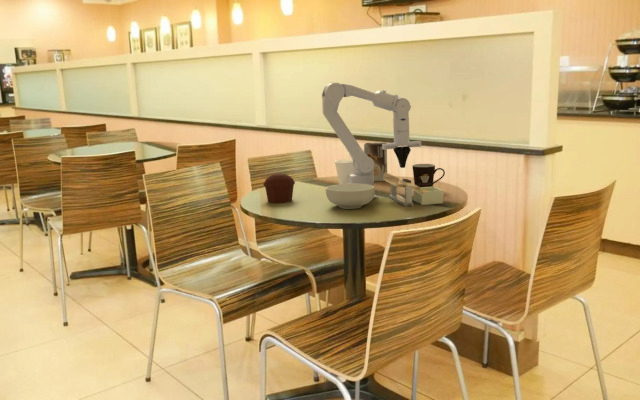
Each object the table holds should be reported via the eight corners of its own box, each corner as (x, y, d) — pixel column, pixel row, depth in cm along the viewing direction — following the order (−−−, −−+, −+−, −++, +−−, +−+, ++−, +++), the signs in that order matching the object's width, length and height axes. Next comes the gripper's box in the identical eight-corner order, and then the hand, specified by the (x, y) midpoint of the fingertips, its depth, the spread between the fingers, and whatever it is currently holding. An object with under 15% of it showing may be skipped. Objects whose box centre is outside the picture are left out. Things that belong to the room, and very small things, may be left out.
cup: (359, 185, 243) (359, 158, 241) (359, 189, 233) (358, 162, 231) (336, 185, 244) (335, 159, 242) (334, 189, 234) (333, 162, 232)
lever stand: (404, 206, 200) (404, 186, 198) (389, 197, 216) (389, 178, 215) (413, 205, 200) (413, 185, 199) (397, 196, 217) (396, 178, 215)
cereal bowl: (384, 205, 202) (384, 185, 201) (352, 214, 191) (351, 193, 190) (348, 199, 214) (348, 180, 213) (316, 207, 203) (315, 187, 202)
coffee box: (388, 179, 255) (387, 142, 252) (385, 181, 249) (384, 144, 246) (367, 178, 258) (366, 142, 254) (364, 181, 252) (363, 144, 248)
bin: (422, 204, 201) (422, 192, 200) (413, 200, 209) (413, 187, 208) (443, 203, 203) (443, 190, 202) (433, 198, 211) (433, 186, 210)
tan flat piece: (395, 186, 199) (397, 178, 199) (382, 179, 213) (384, 172, 212) (419, 190, 201) (421, 182, 201) (405, 183, 215) (407, 176, 214)
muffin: (266, 205, 210) (265, 177, 208) (261, 199, 220) (260, 173, 218) (299, 202, 213) (298, 175, 211) (292, 196, 223) (291, 170, 221)
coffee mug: (409, 192, 224) (409, 166, 222) (416, 188, 231) (416, 163, 229) (438, 194, 218) (439, 167, 216) (445, 190, 226) (445, 164, 224)
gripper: (385, 133, 209) (387, 170, 212) (424, 130, 212) (424, 167, 215) (379, 131, 216) (381, 167, 219) (417, 128, 219) (418, 164, 222)
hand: (402, 167), depth 217 cm, fingers closed
